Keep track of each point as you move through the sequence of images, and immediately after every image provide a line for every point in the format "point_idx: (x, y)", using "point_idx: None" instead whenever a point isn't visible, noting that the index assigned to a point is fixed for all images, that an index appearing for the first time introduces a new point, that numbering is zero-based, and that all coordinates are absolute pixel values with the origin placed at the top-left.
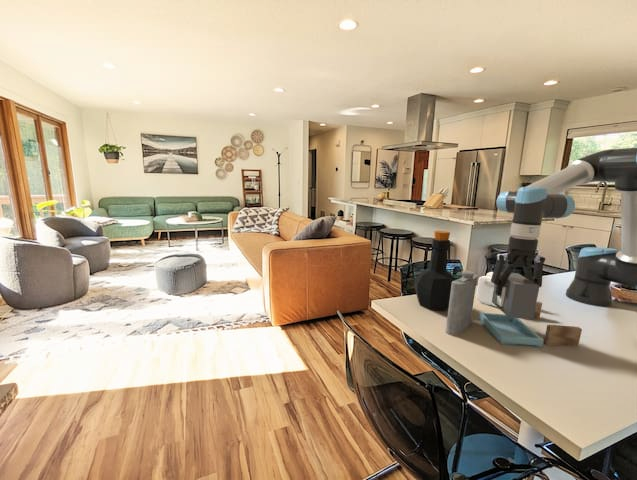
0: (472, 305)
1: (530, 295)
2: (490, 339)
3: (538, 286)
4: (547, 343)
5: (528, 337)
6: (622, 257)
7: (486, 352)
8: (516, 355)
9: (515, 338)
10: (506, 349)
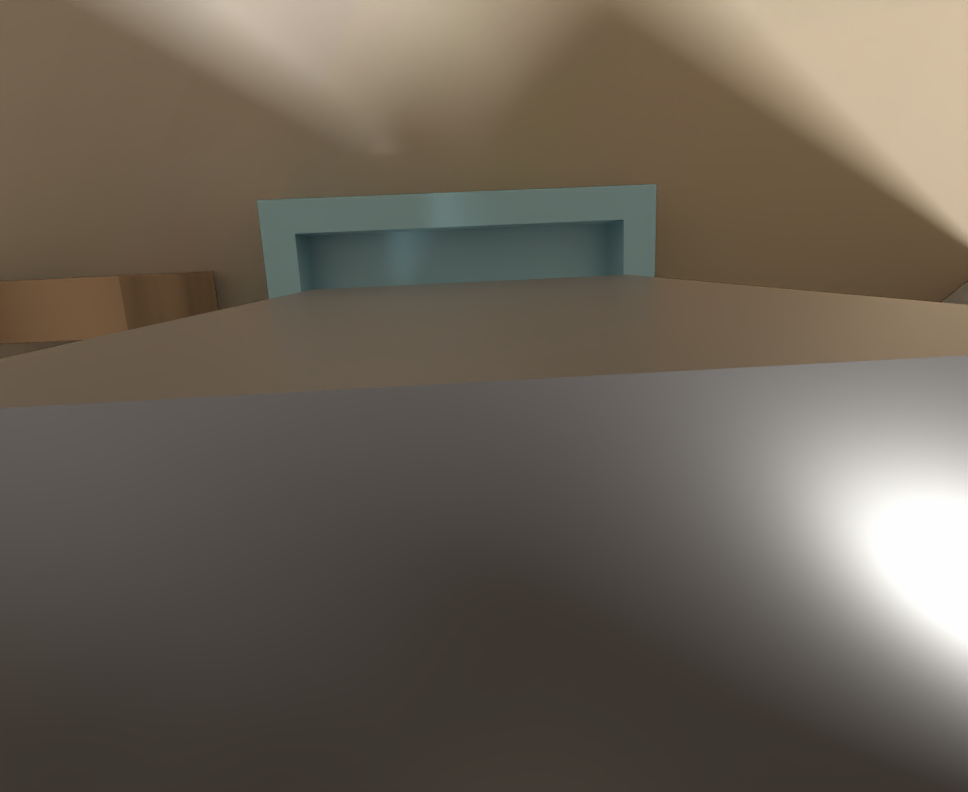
0: None
1: (349, 316)
2: (686, 264)
3: None
4: (204, 272)
5: (390, 225)
6: None
7: (829, 9)
8: (583, 6)
9: (527, 190)
10: (624, 103)
